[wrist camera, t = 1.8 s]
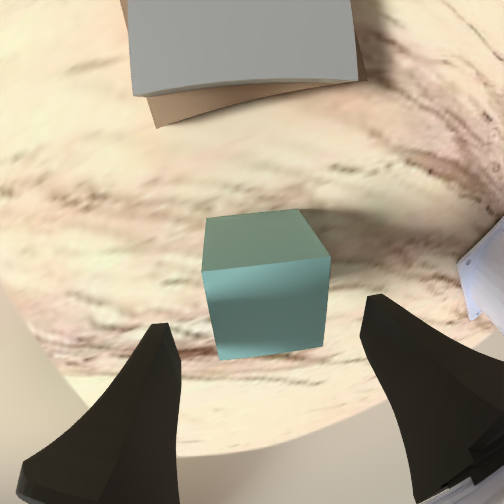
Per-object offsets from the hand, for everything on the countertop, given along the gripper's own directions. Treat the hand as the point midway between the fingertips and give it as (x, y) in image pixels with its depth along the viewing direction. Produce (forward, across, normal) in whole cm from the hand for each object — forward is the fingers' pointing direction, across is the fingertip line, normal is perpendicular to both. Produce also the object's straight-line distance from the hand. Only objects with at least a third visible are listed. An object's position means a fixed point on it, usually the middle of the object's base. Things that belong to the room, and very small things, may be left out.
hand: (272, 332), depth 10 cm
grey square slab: (+4, 0, -12) cm, 13 cm away
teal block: (+6, 0, 0) cm, 6 cm away
